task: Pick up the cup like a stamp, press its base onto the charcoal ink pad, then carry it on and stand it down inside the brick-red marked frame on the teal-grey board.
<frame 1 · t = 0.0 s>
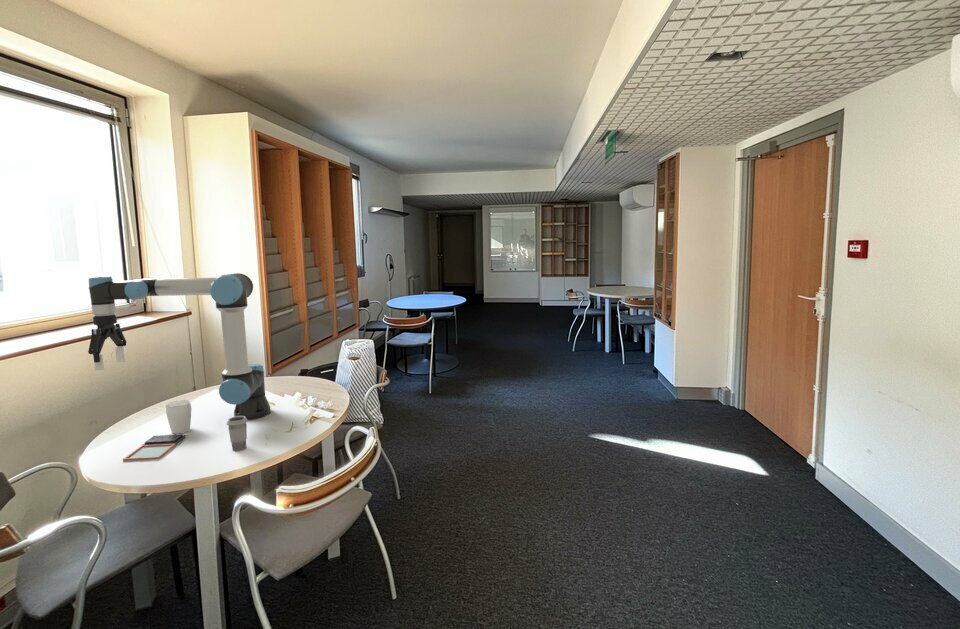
hand: (110, 365, 196), 28 cm above the table, fingers open, 13 cm apart
cup: (181, 431, 200), on the table
ink pad: (164, 442, 188), on the table
cup 2: (239, 449, 182), on the table
print frame: (150, 453, 178), on the table
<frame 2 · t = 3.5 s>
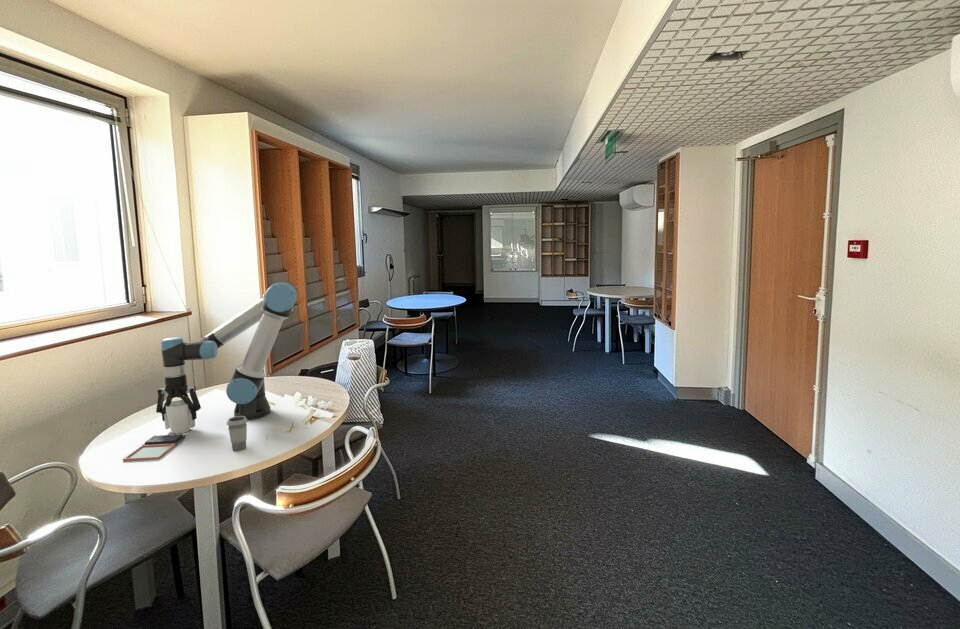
hand: (180, 427, 200), 1 cm above the table, fingers closed on cup, 9 cm apart
cup: (181, 431, 200), on the table, touching gripper
everything else where it was.
when the fingers open (3 cm above the table, at t = 13.3 s): cup drops 1 cm, resting on print frame.
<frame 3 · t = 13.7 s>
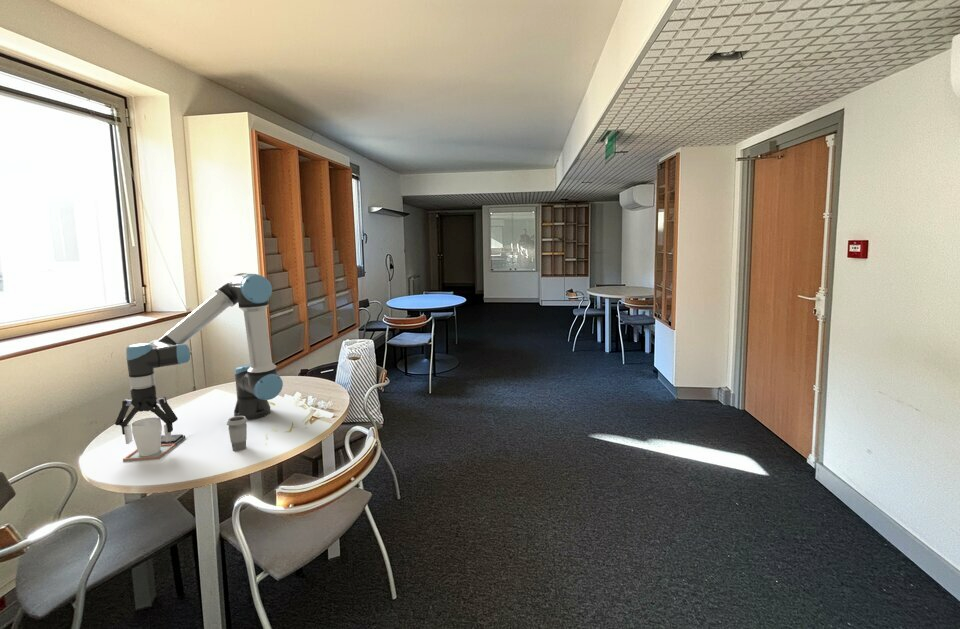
hand: (149, 441, 177), 5 cm above the table, fingers open, 13 cm apart
cup: (150, 452, 178), resting on print frame
everything else where it was.
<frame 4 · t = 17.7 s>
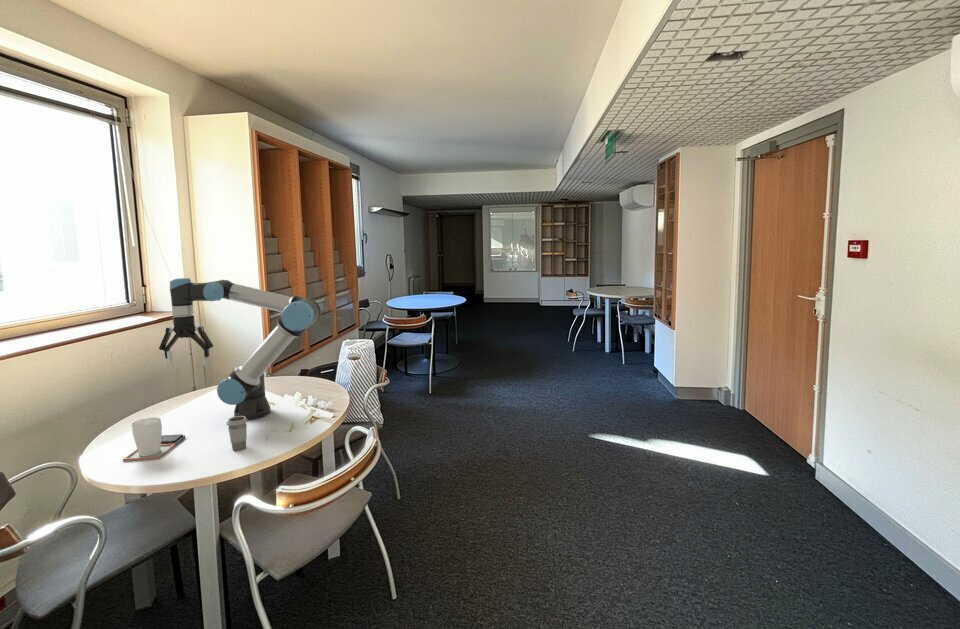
hand: (188, 365, 201), 27 cm above the table, fingers open, 13 cm apart
nothing on the table moved.
at the end: cup inside the target area on the print frame (0.2 cm from its centre), point 0.2 cm above the print frame's base; cup tilted 0°; the gripper is holding nothing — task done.
